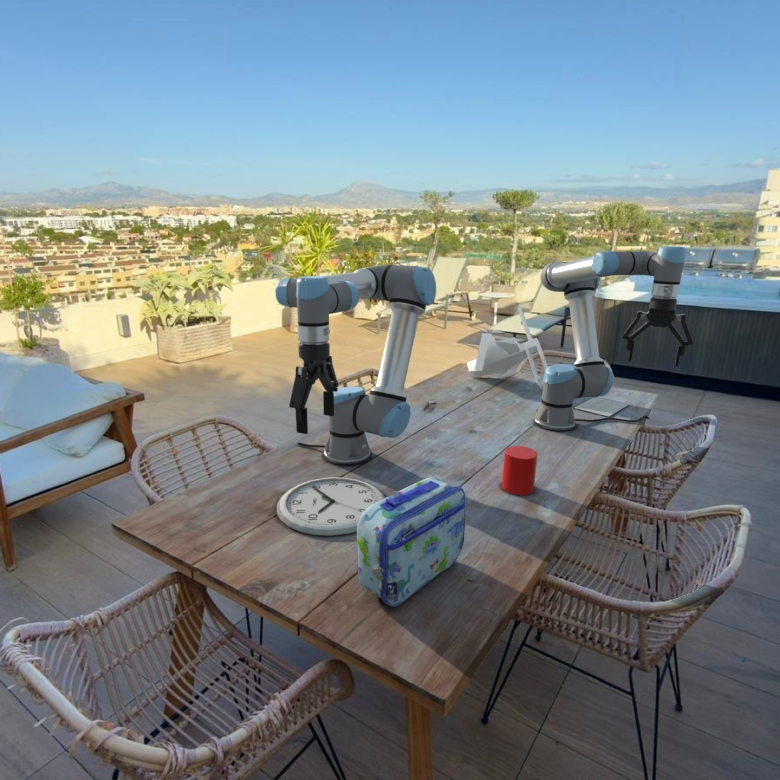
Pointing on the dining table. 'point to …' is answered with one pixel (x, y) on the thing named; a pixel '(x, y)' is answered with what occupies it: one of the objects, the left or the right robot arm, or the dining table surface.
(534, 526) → the dining table surface
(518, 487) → the canister
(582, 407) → the invitation card
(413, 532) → the lunch box
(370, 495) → the wall clock
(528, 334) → the white plastic object
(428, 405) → the fork
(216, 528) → the dining table surface
